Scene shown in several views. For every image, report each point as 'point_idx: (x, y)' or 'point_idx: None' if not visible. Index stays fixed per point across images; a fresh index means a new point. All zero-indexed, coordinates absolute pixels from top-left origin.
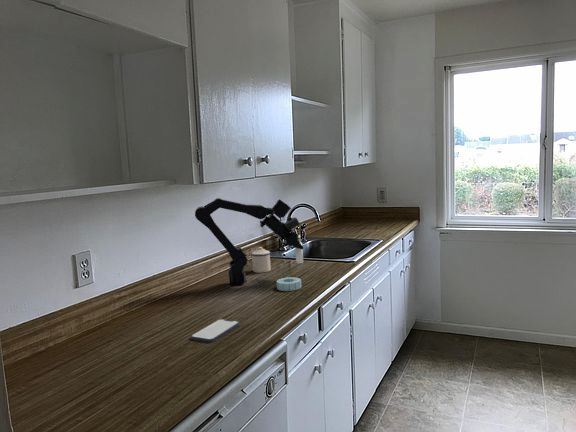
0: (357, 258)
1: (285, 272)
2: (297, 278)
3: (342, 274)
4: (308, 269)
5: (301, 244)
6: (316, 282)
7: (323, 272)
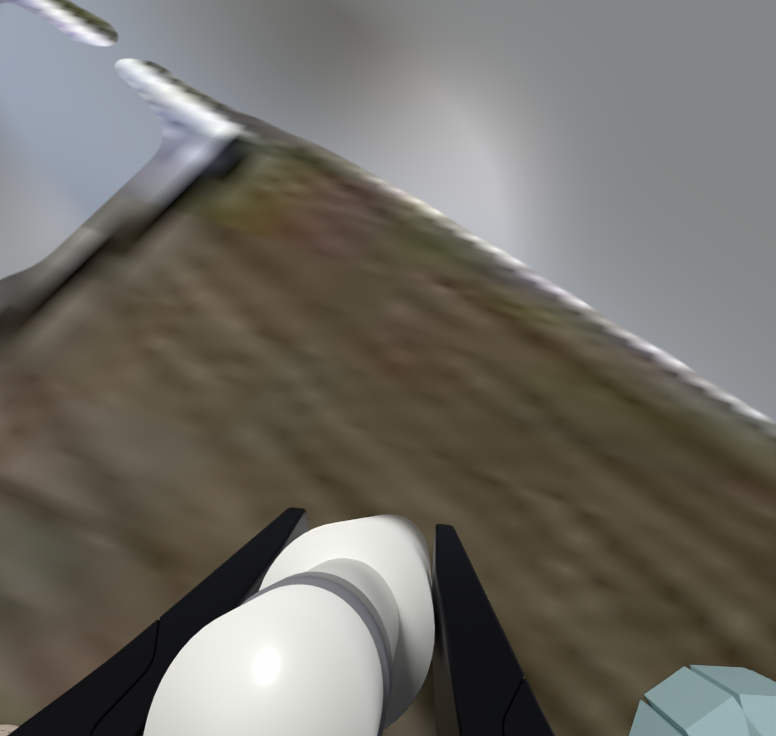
0: (193, 109)
1: None
2: (742, 716)
3: (488, 268)
4: (236, 413)
5: (414, 559)
6: (637, 491)
7: (376, 351)
